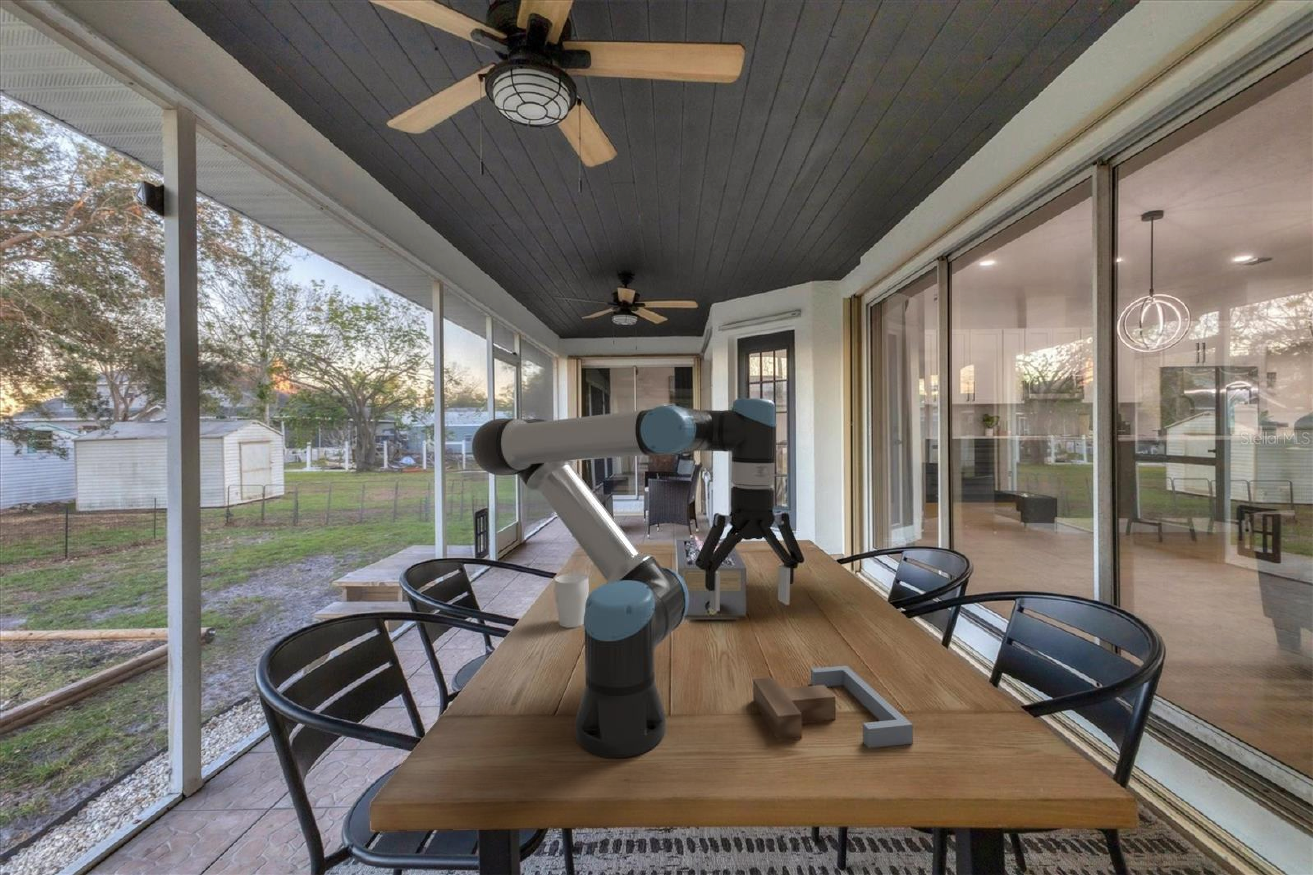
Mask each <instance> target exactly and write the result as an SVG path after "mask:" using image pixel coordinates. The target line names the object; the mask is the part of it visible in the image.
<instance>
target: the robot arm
mask: <svg viewBox="0 0 1313 875" xmlns="http://www.w3.org/2000/svg"><path fill="white" fill-rule="evenodd" d="M776 420H777V419H776V404H775V402H774V401H773V400H771V399H768V398H750V397H749V398H737V399H734V400H733V403H732V407H731V409H726V410H725V409H724V410H718V409H715V410H714V409H713V410H712V409H709V410H708V409H707V410H706V409H698V408H697V409H695V408H687V407H682V406H677V405H675V404H669V405H668V404H666V405H659V406H656V407H653V408H652V409H650V408H649V409H646V410H645V409H641V410H639V409H638V410H633V411H632V410H631V411H624V412H614V413H605V414H599V415H597V414H596V415H589V416H579V417H572V418H564V419H554V420H545V419H541V418H532V419H521V418H505V417H504V418H503V417H501V418H496V419H492V420H489V421H487V422H485V423H484V424H482V425H481V426H480V427H479V428H478V429H477V431H476V432H475V434H474V436H473V439H472V442H471V452H472V455H473V459H474V461H475V462H476V464H477V465H478V466H479V467H480V468H481V469H482V470H484V471H485V472H486V473H489V474H492V475H496V476H500V477H501V476H504V477H505V476H515V475H516V476H517V475H518V476H519V478H520V479H521V481H522V482H523V483H524V484H525V486H526V487H527V489H529V490H531V491H537V492H540V493H541V495H542V496H543V498H544V499H545V500H546V502H547V504H549V506H550V507H551V509H552V510H553V511H554V512H555V514H556V515H557V516H558V518H559V519H560V520H561V522H562V523H563V525H564V526H565V527H566V528H567V530H568V531H569V533H570V534H571V535H572V537H574V539H575V540H576V542H577V543H578V545H579V546H580V548H582V550H583V551H584V552H585V555H587V557H588V558H589V559H590V560H591V562H592V563H593V565H594V566H595V567H596V569H597V570H598V572H599V573H600V574H601V576H602V577H603V578H604V579H605V581H606V583H605V584H602V585H600V586H598V587H596V588H595V589H594V590H593V591H592V592H590V594H588V598H587V600H586V604H585V614H584V624H583V627H584V656H585V657H584V662H585V664H584V665H585V668H584V670H585V686H584V689H583V693H582V696H581V699H580V701H579V702H580V703H579V705H578V709H577V712H576V716H575V739H576V741H577V743H578V744H579V745H580V747H582V748H583V750H586V751H587V752H589V753H590V754H593V755H596V756H599V757H604V758H612V759H614V758H615V759H622V758H629V757H634V756H638V755H641V754H644V753H646V752H648V751H650V750H652V749H653V748H655V747H656V746H657V745H658V744H659V743H660V742H661V741H662V740H663V738H664V736H665V733H666V713H665V712H666V711H665V708H664V706H663V702H662V699H661V697H660V694H659V691H658V688H657V685H656V681H655V678H656V677H655V650H656V648H657V647H658V645H659V644H660V643H662V642H663V640H664V639H666V638H667V637H668V635H669V634H670V633H672V632H673V631H674V630H676V629H677V628H678V627H679V626H680V625H681V623H682V621H683V619H684V618H685V616H686V614H687V613H688V611H689V610H688V609H689V607H690V606H689V605H690V594H689V588H688V587H687V584H686V582H685V580H684V579H683V577H682V576H681V575H680V574H679V573H678V572H677V571H676V570H673V569H671V568H668V567H664V566H661V564H660V563H659V562H658V561H657V560H656V557H654V556H653V555H652V554H646V553H642V552H640V551H639V549H638V548H637V547H636V545H635V544H634V543H633V542H632V541H631V539H630V538H629V537H628V535H627V534H626V532H625V531H623V529H622V528H621V527H620V525H619V524H618V522H617V521H616V520H615V519H614V517H613V516H612V515H611V514H610V512H609V510H608V509H606V507H605V506H604V505H603V504H602V502H601V501H600V500H599V498H598V497H597V496H596V495H595V494H594V492H593V491H592V489H590V487H589V486H588V484H587V483H586V482H585V480H583V478H582V477H581V476H580V474H579V473H578V472H577V471H576V469H575V468H574V467H573V464H574V461H585V460H596V459H597V460H600V459H611V458H614V459H615V458H624V457H637V456H655V455H656V456H657V455H665V456H666V455H668V456H669V455H676V454H680V453H691V452H699V451H700V452H726V453H727V452H731V470H730V471H731V479H730V482H731V483H732V484H733V486H732V487H731V488H730V514H729V515H726V514H721V513H719V512H716V513H714V514H713V517H712V518H713V519H712V526H711V528H710V530H709V532H708V535H707V536H706V539H705V540H704V543H703V544H702V547H701V549H700V551H699V553H698V555H697V558H696V559H695V562H694V564H695V565H694V566H696V567H697V568H699V569H700V570H702V571H705V572H704V574H705V575H704V576H705V578H704V579H705V580H704V581H705V582H704V583H705V584H704V586H705V589H706V590H707V591H709V605H708V607H710V608H711V609H712V610H713V611H714V612H720V608H721V604H720V603H721V602H720V601H721V572H720V571H718V570H719V568H720V567H721V565H722V564H723V563H724V561H725V560H726V559H727V558H728V557H729V555H730V554H731V553H732V551H733V550H734V549H735V547H736V546H737V545H738V544H740V543H741V542H742V540H743V539H744V540H746V541H749V540H750V541H751V540H752V539H753V540H754V539H755V540H763V539H764V540H765V541H766V543H767V544H768V545H769V547H770V548H771V549H772V550H773V552H774V553H775V554H776V555H777V557H778V559H779V560H780V561H781V562H782V563H781V564H778V573H777V574H778V577H777V579H778V580H777V600H778V601H780V602H781V603H782V604H784V605H786V606H788V605H790V598H791V596H790V594H791V593H790V592H791V585H793V584H794V580H795V579H794V577H795V576H794V575H795V574H794V571H795V570H796V569H797V568H798V566H799V564H803V563H804V562H805V558H804V555H803V553H802V551H801V548H800V546H799V543H798V541H797V538H796V536H795V534H794V532H793V529H792V527H791V522H790V521H791V520H790V514H789V513H788V512H784V511H781V510H779V511H778V510H777V512H776V513H774V512H773V511H774V510H773V509H774V508H775V490H774V488H773V487H772V486H773V485H774V484H775V464H776V463H775V459H776V435H777V424H776ZM729 524H730V526H731V528H729V530H728V532H727V533H726V536H725V538H724V539H723V540H722V541H721V543H720V544H719V542H720V540H721V538H722V536H723V534H724V530H725V528H727V527H728V525H729ZM773 524H776V525H777V527H778V530H779V532H780V534H781V537H782V540H783V542H784V545H785V546H786V548H785V547H784V546H783V545H782V543H781V542H780V540H779V539H778V537H777V535H776V534H775V532H774V531H773V530H772V529H771V527H772V526H773ZM718 544H719V545H718ZM786 549H787V550H786Z"/></svg>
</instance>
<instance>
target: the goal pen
mask: <svg viewBox="0 0 1313 875" xmlns="http://www.w3.org/2000/svg"><path fill="white" fill-rule="evenodd" d="M810 685H811V686H816V685H825V686H826V687H827V688H828V687H838V686H843V687H844V688H845V689H847V691H849V693H851V694H852V696H853V697H855V699H856V700H857V701H859V702H860V703H861V704H862V705H863V706H864V707H865V709H867V711H869V712H870V713H871V714H872V715H873V716H874V717H875V718H876V719H877V720H878V721H870V722H862V743H864V745H865V746H866V747H867V748H868V749H873V748H883V747H892V746H899V745H909V744H914V727H913V726H914V724H913V723H912V722H911V721H910V720H908V719H907V718H906V717H905V716H904V715H903V714H902V713H900V712H899V711H898V710H897V709H896V708H895V706H893V705H891V704H890V703H889V702H888V701H887V700H886V699H885V698H884V697H882V696H881V694H879V693H878V692H877V691H876V690H875V689H873V688H872V686H870V685H869V684H868V683H867V682H866V681H864V679H862V678H861V677H860V676H859V675H858V674H857V673H856V672H855V671H853V670H852V669H851V668H850V667H849V666H848V665H838V666H825V667H824V666H823V667H814V668H813V667H812V668H810Z"/></svg>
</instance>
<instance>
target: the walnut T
mask: <svg viewBox="0 0 1313 875" xmlns="http://www.w3.org/2000/svg"><path fill="white" fill-rule="evenodd" d="M752 680H753V681H752V683H753V684H752V686H753V688H752V692H753V695H752V696H753V700H754V701H753V702H754V705H755V706H756V707H757V709H758V710H759V712H760V713H761V715H762V717H763V716H764V717H763V718H764V720H765V719H766V720H765V722H766V721H767V722H766V723H767V725H768V724H769V725H768V726H769V728H770V730H771V729H772V730H771V732H774V733H773V734H774V737H775V738H776V740H777V741H779V742H780V741H790V740H798V739H797V738H801V739H803V723H802V722H806V723H811V722H810V721H816V722H821V721H820V720H826V721H831V720H830V719H836V720H837V716H836V715H837V713H836V695H835V694H834V693H833V692H832V691H831V690H830V689H829V688H828V687H826V686H825V685H816V686H812V685H808V686H807V685H806V686H798V687H797V686H796V687H785V688H783V687H782V686H781V685H780V684H779V682H778V681H777V680H776V678H775V677H763V678H753V679H752Z"/></svg>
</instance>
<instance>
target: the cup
mask: <svg viewBox="0 0 1313 875" xmlns="http://www.w3.org/2000/svg"><path fill="white" fill-rule="evenodd" d="M589 590H590V586H589V576H588V574H587V575H586V574H585V573H575V572H574V573H565V574H561V575H558V576H556V577H555V579H554V596H555V605H556V609H557V610H556V611H557V616H558V617H557V618H558V622H559V623H558V624H559V625H560V626H561V627H562V628H566V629H567V628H568V629H571V628H572V629H573V628H578V627H581V626H584V614H585V604H586V600H587V598H588V596H589V593H590V592H589Z"/></svg>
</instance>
